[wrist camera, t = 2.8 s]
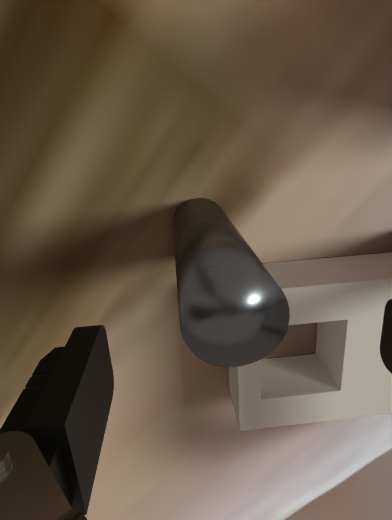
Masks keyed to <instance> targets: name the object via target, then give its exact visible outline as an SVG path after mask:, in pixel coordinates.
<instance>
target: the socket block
mask: <svg viewBox="0 0 392 520" xmlns="http://www.w3.org/2000/svg"><path fill="white" fill-rule="evenodd" d="M263 265H264V267H265V268H266V269H267V271H268V272H269V273H270V275H271V276H272V277H273V279H274V280H275V281H276V283H277V284H278V285H279V287H280V288H281V289H282V291H283V292H284V294H285V296H286V298H287V301H288V304H289V311H290V317H289V324H288V325H297V324H307V323H317V322H318V324H317V339H316V354H308V355H298V356H289V357H279V358H270V359H260V360H258V361H256V362H254V363H251V364H248V365H244V366H239V367H228V369H229V390H230V394H231V398H232V402H233V406H234V410H235V414H236V418H237V422H238V426H239V430H240V431H246V430H254V429H263V428H272V427H280V426H289V425H297V424H306V423H315V422H323V421H332V420H340V419H349V418H357V417H366V416H375V415H383V414H392V374H391V373H390V372H389V371H388V369H387V368H386V367H385V365H384V363H383V361H382V359H381V355H380V341H381V333H382V325H383V317H384V310H385V305H386V303H387V301H388V300H390V299H392V252H389V253H377V254H366V255H355V256H344V257H333V258H321V259H310V260H299V261H288V262H277V263H265V264H263Z"/></svg>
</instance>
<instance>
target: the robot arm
mask: <svg viewBox="0 0 392 520" xmlns="http://www.w3.org/2000/svg"><path fill="white" fill-rule="evenodd" d="M380 355H381V359H382V361H383V363H384V365H385V367H386V368H387V369H388V371H389V372H390V373H391V374H392V299H390V300H388V301H387V303H386V305H385V310H384V317H383V325H382V333H381V341H380ZM32 375H33V376H32V377H30V379H29V381H28V383H27V384H26V388H25V389H23V391H22V393H21V395H20V396H19V398H18V400H17V401H16V403H15V405H14V407H13V408H12V410H11V412H10V414H9V415H8V417H7V419H6V420H5V422H4V424H3V426H2V427H1V429H0V520H87V519H86V517H85V516H84V515H87V510H88V506H89V501H90V497H91V492H92V488H93V483H94V479H95V474H96V470H97V465H98V461H99V456H100V451H101V447H102V442H103V438H104V433H105V429H106V424H107V420H108V415H109V411H110V406H111V402H112V397H113V390H114V377H113V369H112V364H111V358H110V352H109V346H108V340H107V335H106V330H105V327H104V326H103V325H97V326H86V327H76V328H74V330H73V332H72V334H71V336H70V338H69V340H68V342H67V344H66V346H65V347H57V348H54V349H53V350H52V351H51V352H50V353H48V354H47V355H46V356H45V357H44V358H43V359H41V360H40V362H39V364H38V365H37V367H36V369H35V371H34V372H33V374H32Z"/></svg>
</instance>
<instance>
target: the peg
mask: <svg viewBox="0 0 392 520" xmlns="http://www.w3.org/2000/svg"><path fill="white" fill-rule="evenodd" d="M173 238H174V251H175V263H176V276H177V289H178V302H179V314H180V327H181V333H182V336H183V339H184V341H185V343H186V345H187V346H188V347H189V349H190V350H191V351H192V352H193V353H194V354H195V355H196V356H197V357H199V358H200V359H202V360H204V361H205V362H208V363H210V364H213V365H216V366H222V367H239V366H244V365H248V364H251V363H254V362H256V361H258V360H260V359H262V358H264V357H265V356H267V355H268V354H269V353H271V352H272V351H273V350H274V349H275V348H276V347H277V346H278V344H279V343H280V342H281V340H282V339H283V337H284V335H285V333H286V331H287V328H288V324H289V317H290V311H289V304H288V301H287V298H286V296H285V294H284V292H283V291H282V289H281V288H280V287H279V285H278V284H277V283H276V281H275V280H274V279H273V277H272V276H271V275H270V273H269V272H268V271H267V269H266V268H265V267H264V265H263V264H262V263H261V261H260V260H259V258H258V257H257V256H256V254H255V253H254V252H253V250H252V249H251V248H250V246H249V245H248V244H247V242H246V241H245V240H244V238H243V237H242V236H241V234H240V233H239V232H238V230H237V229H236V228H235V226H234V225H233V224H232V222H231V221H230V220H229V218H228V217H227V216H226V214H225V213H224V212H223V210H222V209H221V208H220V206H219V205H218V204H216V203H215V202H213V201H211V200H209V199H205V198H195V199H191V200H189V201H187V202H185V203H184V204H182V205H181V206H180V207H179V208H178V210H177V211H176V213H175V215H174V218H173Z"/></svg>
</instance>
